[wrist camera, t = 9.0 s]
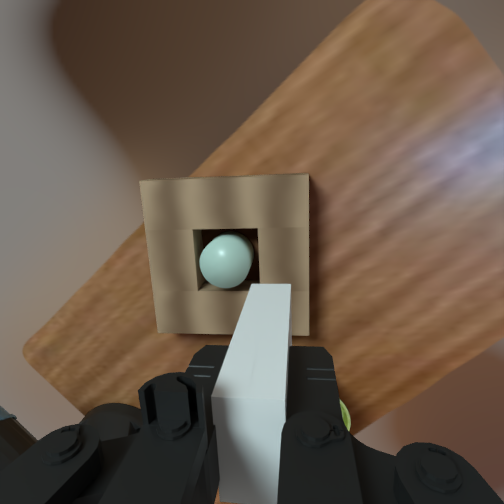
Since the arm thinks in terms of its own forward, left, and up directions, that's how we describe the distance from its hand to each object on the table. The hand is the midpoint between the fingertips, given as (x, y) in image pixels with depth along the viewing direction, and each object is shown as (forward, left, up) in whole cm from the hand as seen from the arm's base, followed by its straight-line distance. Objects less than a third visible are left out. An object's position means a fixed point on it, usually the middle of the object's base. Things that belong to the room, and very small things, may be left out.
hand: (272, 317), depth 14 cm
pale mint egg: (-8, -6, -32) cm, 33 cm away
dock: (-8, -6, -32) cm, 34 cm away
